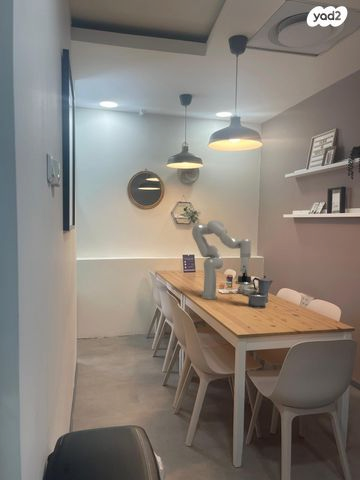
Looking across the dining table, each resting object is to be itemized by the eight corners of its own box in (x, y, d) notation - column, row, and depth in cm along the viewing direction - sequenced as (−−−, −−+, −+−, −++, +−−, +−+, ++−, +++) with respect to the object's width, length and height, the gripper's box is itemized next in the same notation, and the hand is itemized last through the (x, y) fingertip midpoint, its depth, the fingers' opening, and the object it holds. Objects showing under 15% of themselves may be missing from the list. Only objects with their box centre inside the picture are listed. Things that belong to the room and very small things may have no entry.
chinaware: (254, 299, 280) (257, 279, 278) (234, 295, 285) (237, 275, 284) (258, 293, 306) (260, 275, 305) (239, 289, 312) (242, 271, 310)
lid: (234, 284, 246) (234, 276, 246) (236, 281, 259) (236, 274, 259) (252, 285, 243) (252, 278, 242) (254, 282, 255) (254, 275, 255)
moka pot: (272, 303, 260) (273, 277, 259) (251, 301, 263) (252, 275, 262) (271, 300, 269) (272, 275, 268) (251, 299, 272) (252, 274, 271)
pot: (247, 307, 245) (247, 294, 244) (248, 303, 257) (249, 291, 256) (265, 309, 241) (265, 296, 241) (266, 305, 253) (266, 293, 253)
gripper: (241, 255, 259) (240, 279, 260) (238, 256, 243) (237, 282, 244) (251, 255, 257) (250, 279, 257) (249, 257, 241) (248, 283, 241)
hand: (244, 280), depth 251 cm, fingers closed on lid, 4 cm apart
